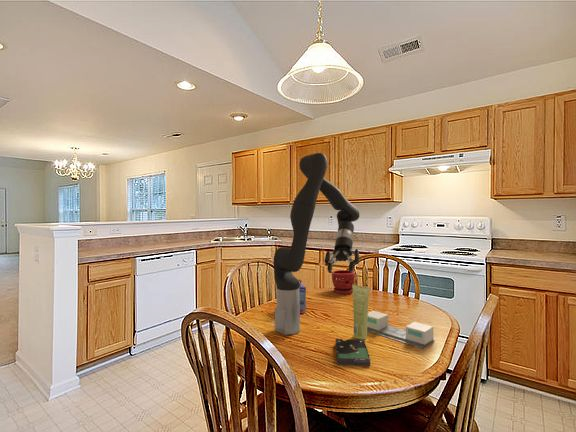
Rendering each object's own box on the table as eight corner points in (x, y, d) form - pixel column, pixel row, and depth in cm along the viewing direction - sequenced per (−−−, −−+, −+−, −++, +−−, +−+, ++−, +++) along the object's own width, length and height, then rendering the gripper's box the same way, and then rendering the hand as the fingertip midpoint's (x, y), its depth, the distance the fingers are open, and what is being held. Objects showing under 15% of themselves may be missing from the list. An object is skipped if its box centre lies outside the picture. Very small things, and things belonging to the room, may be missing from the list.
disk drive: (334, 346, 113) (337, 366, 98) (334, 338, 113) (337, 357, 98) (364, 347, 112) (371, 367, 97) (364, 339, 112) (371, 358, 97)
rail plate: (422, 349, 109) (422, 346, 109) (361, 329, 127) (361, 326, 127) (435, 340, 116) (435, 337, 116) (375, 322, 134) (375, 320, 134)
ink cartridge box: (306, 313, 147) (306, 282, 147) (295, 314, 146) (294, 283, 145) (300, 306, 157) (299, 277, 156) (289, 307, 155) (289, 278, 155)
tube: (367, 334, 122) (367, 284, 121) (370, 340, 117) (369, 287, 116) (352, 334, 122) (352, 284, 122) (354, 339, 117) (354, 287, 116)
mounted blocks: (424, 344, 110) (424, 332, 110) (363, 325, 128) (363, 314, 128) (433, 338, 115) (433, 326, 115) (372, 321, 133) (372, 310, 133)
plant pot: (358, 290, 185) (357, 270, 185) (349, 296, 174) (349, 274, 174) (337, 288, 192) (337, 268, 192) (328, 293, 181) (328, 272, 181)
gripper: (326, 237, 140) (320, 266, 129) (358, 234, 134) (355, 265, 123) (331, 247, 145) (325, 277, 134) (362, 245, 139) (359, 276, 128)
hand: (339, 271), depth 129 cm, fingers open, 8 cm apart
